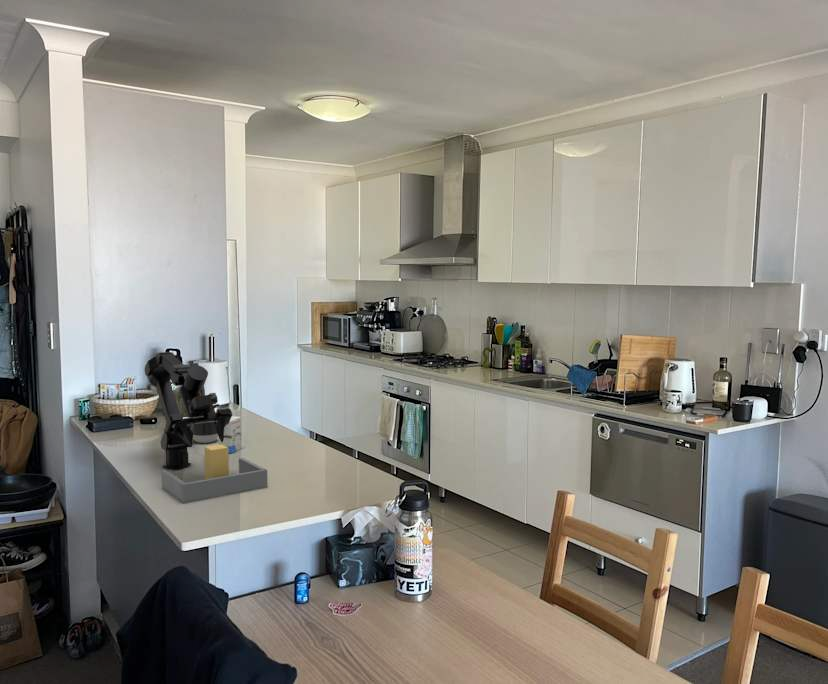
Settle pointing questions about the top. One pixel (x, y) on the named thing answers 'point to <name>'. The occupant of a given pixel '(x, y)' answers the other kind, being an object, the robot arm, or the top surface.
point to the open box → (216, 483)
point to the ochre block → (216, 461)
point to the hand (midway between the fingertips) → (207, 443)
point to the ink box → (232, 435)
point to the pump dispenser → (205, 429)
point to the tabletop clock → (180, 402)
